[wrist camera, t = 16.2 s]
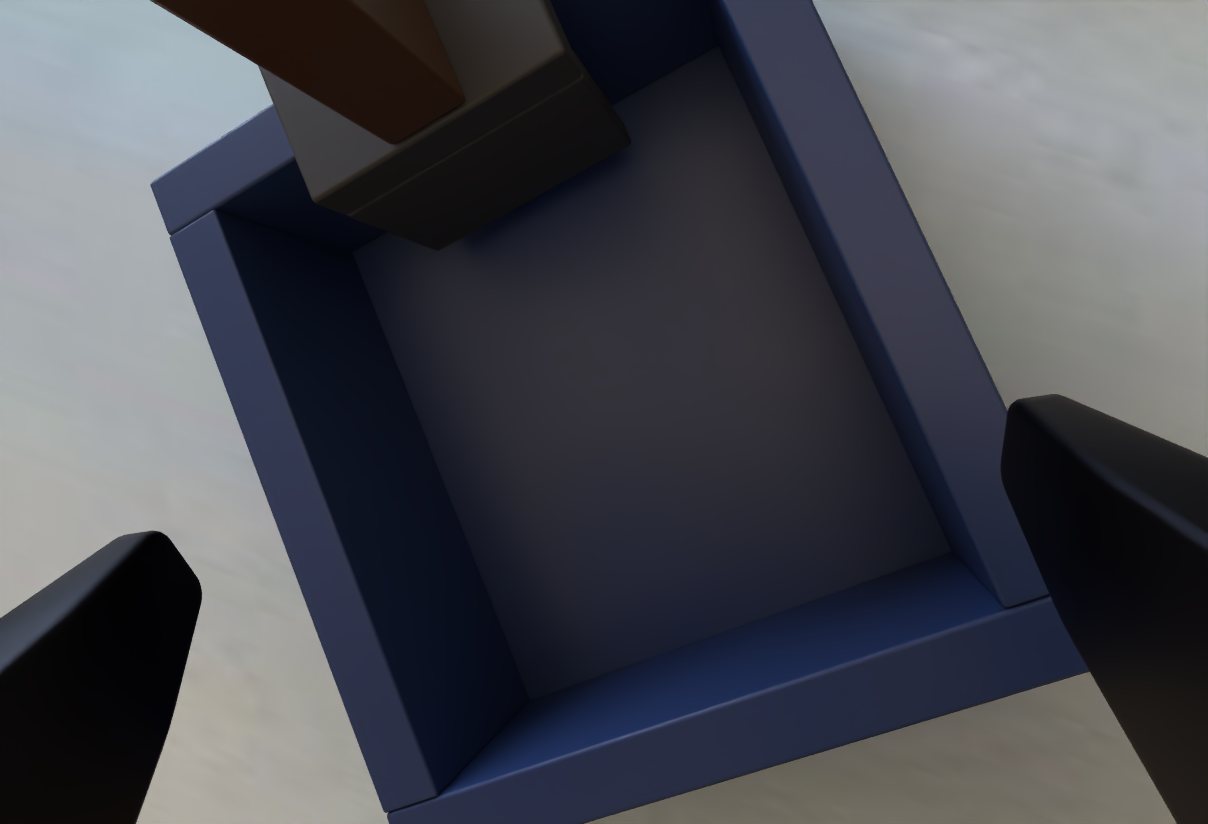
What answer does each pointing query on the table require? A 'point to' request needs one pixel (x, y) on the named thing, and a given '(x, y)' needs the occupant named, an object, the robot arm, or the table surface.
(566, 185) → the box
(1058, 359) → the table surface
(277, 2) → the tall backed stool
